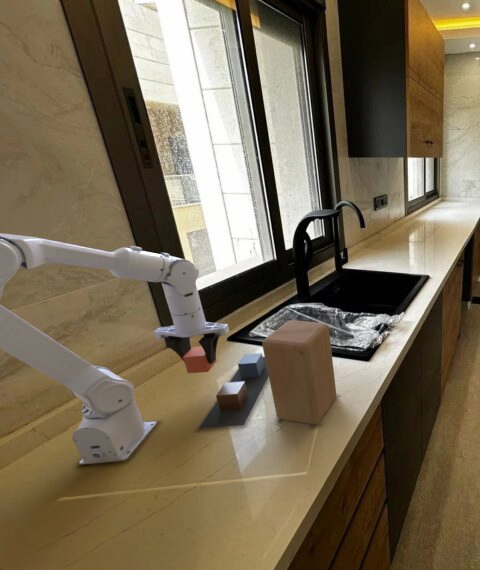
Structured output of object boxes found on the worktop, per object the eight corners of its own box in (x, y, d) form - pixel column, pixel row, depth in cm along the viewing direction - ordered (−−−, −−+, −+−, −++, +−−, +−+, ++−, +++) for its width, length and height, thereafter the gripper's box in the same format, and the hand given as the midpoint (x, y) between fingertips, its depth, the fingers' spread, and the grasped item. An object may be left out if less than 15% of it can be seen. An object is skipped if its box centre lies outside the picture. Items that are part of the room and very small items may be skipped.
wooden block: (317, 427, 69) (305, 346, 62) (275, 420, 71) (259, 340, 64) (338, 396, 78) (330, 322, 71) (300, 390, 80) (288, 317, 73)
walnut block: (241, 409, 73) (237, 393, 72) (220, 411, 73) (215, 395, 71) (248, 396, 78) (244, 381, 76) (228, 397, 77) (224, 382, 75)
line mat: (243, 425, 69) (243, 424, 69) (198, 429, 68) (198, 428, 68) (279, 357, 93) (278, 356, 93) (245, 359, 92) (245, 358, 92)
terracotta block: (208, 371, 76) (203, 355, 74) (187, 373, 75) (182, 357, 74) (216, 361, 80) (212, 345, 78) (197, 362, 79) (192, 346, 78)
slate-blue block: (259, 377, 84) (256, 362, 83) (241, 378, 84) (237, 363, 82) (264, 367, 88) (261, 353, 87) (247, 368, 88) (244, 354, 86)
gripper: (229, 301, 77) (240, 350, 82) (161, 304, 75) (177, 354, 80) (215, 314, 70) (228, 367, 75) (141, 318, 68) (159, 372, 73)
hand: (201, 362), depth 77 cm, fingers closed on terracotta block, 4 cm apart
